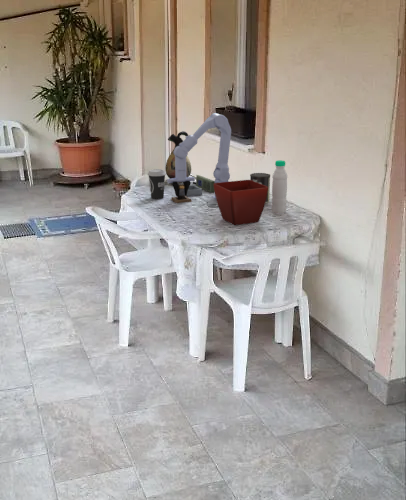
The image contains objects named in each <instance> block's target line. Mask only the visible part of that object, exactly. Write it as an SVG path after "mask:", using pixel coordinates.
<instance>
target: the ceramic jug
mask: <svg viewBox="0 0 406 500" xmlns="http://www.w3.org/2000/svg"><path fill="white" fill-rule="evenodd" d="M181 136H185V137H186V136H189V134H188V132H186V131H183V130H182V131H179V132H178V133H177V135H175V134H174V133H172V134H170V135H169V136H168V138H167V140H168V141H169V142H172V143H174V147H173V149H172V150H171V152H170V154H169V156H168V157H167V160H166V163H165V168H164V169H165V170H164V171H165V173H166V176H167V177H168V179H171V178H175V155H174V153H173V151H174V149H175V148H176V147H177V146H180V145H179V144H180V143H182V142H183V141H184V139H183V138H182V137H181ZM191 174H192V164H191V160H190V159H189V157H188V155H187V156H186V177H190V175H191ZM177 183H178V184H180V183H182V184H183V182H177Z"/></svg>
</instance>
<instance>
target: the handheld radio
mask: <svg viewBox="0 0 406 500" xmlns="http://www.w3.org/2000/svg"><path fill="white" fill-rule="evenodd" d="M195 179H196V181H192V185H195V186H197V187H199V188H201V189H202V191H206V192H208V193H211V194H212V193H213V194H215V191H214V183H215V180H212V179H210V178H208V177H204V176H202V175H201V174H200V175H199V174H196V178H195Z"/></svg>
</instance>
